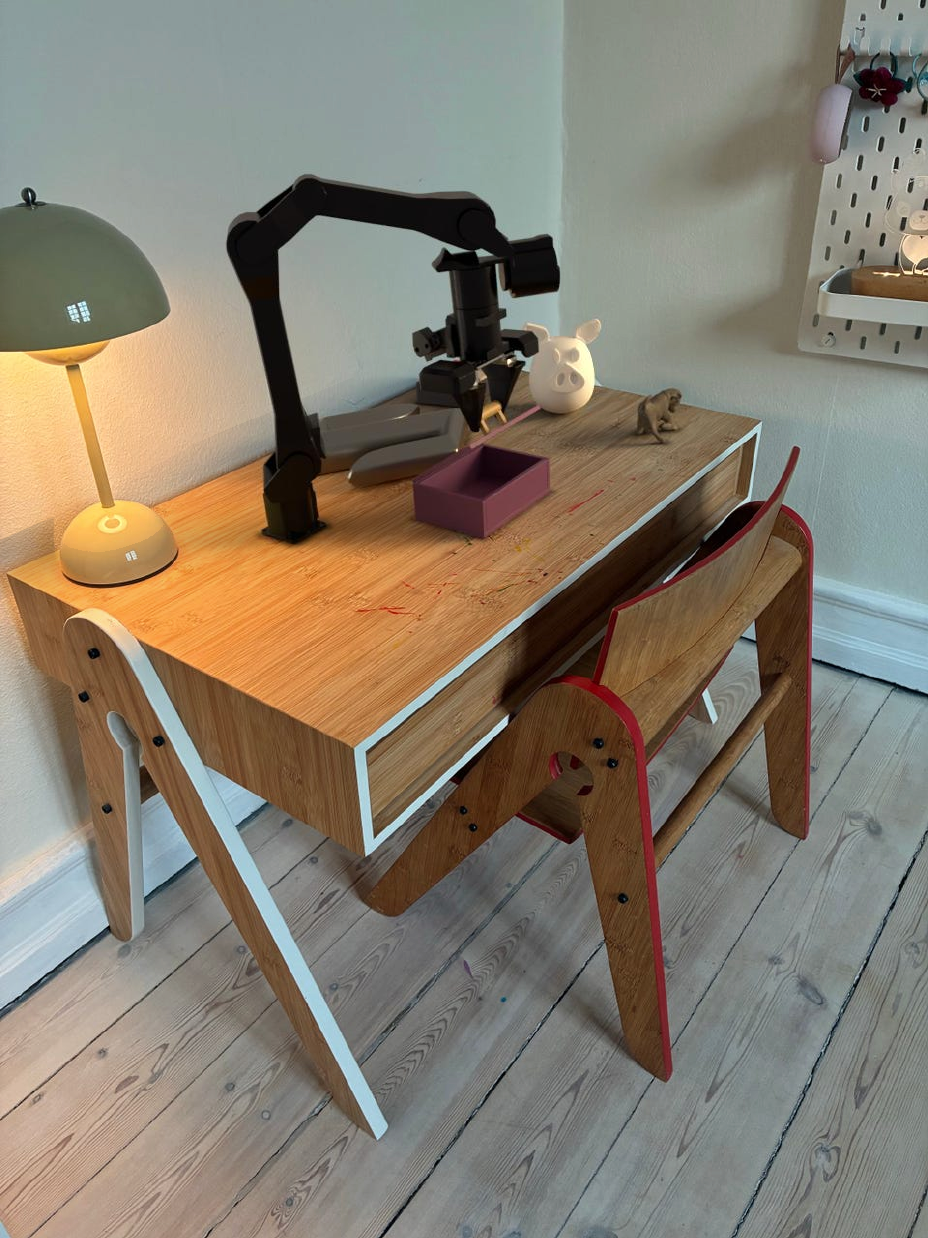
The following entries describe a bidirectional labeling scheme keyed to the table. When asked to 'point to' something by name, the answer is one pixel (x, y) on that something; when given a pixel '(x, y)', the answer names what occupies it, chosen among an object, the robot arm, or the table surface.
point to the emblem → (390, 442)
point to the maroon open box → (481, 489)
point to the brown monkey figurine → (658, 412)
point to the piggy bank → (562, 368)
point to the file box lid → (488, 411)
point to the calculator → (445, 398)
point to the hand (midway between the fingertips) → (487, 424)
